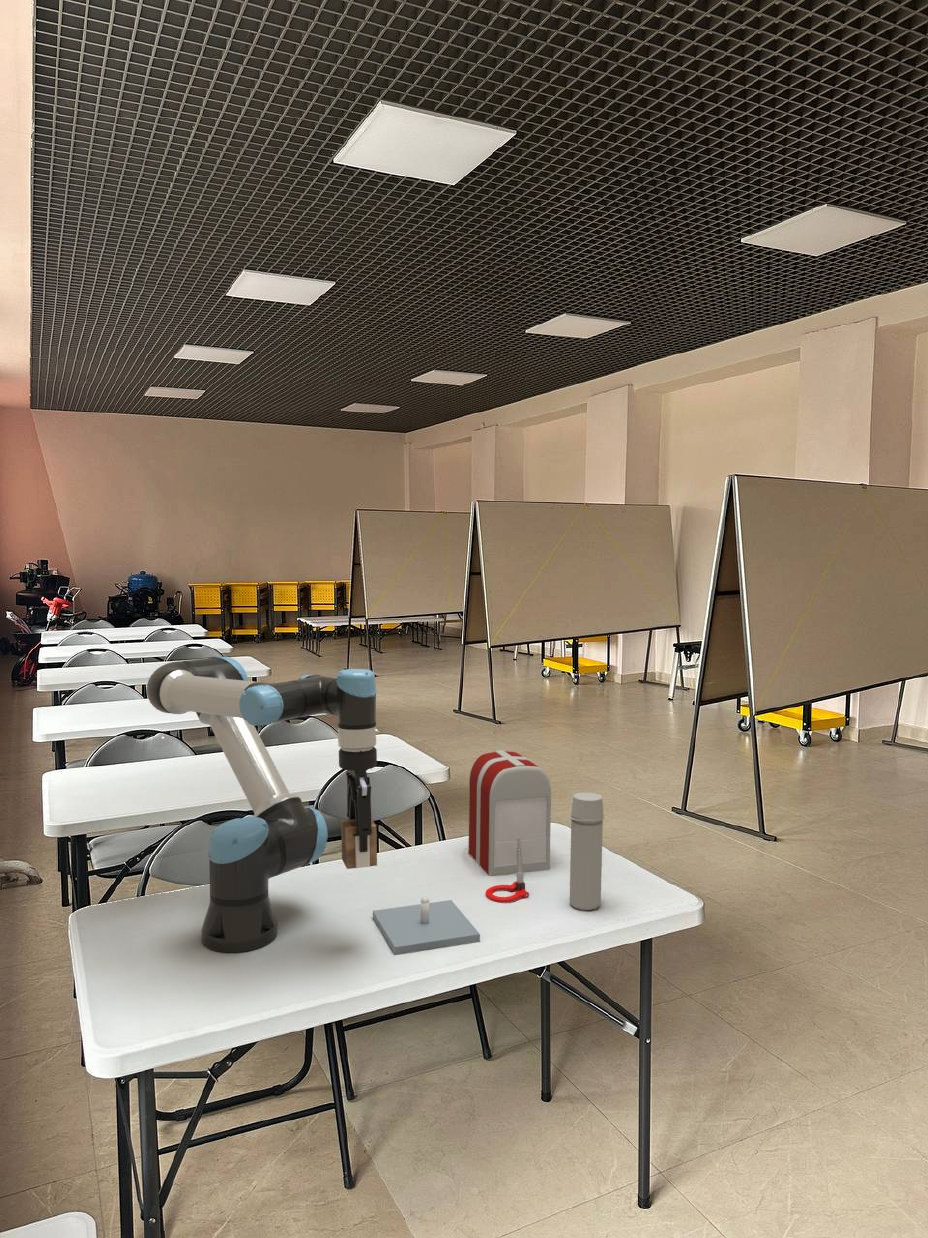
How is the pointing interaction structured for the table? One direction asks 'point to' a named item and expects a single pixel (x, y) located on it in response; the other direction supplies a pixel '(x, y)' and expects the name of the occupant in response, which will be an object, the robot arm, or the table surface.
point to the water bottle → (586, 851)
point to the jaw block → (349, 843)
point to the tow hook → (517, 885)
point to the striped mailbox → (509, 813)
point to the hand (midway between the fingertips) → (359, 860)
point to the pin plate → (425, 926)
